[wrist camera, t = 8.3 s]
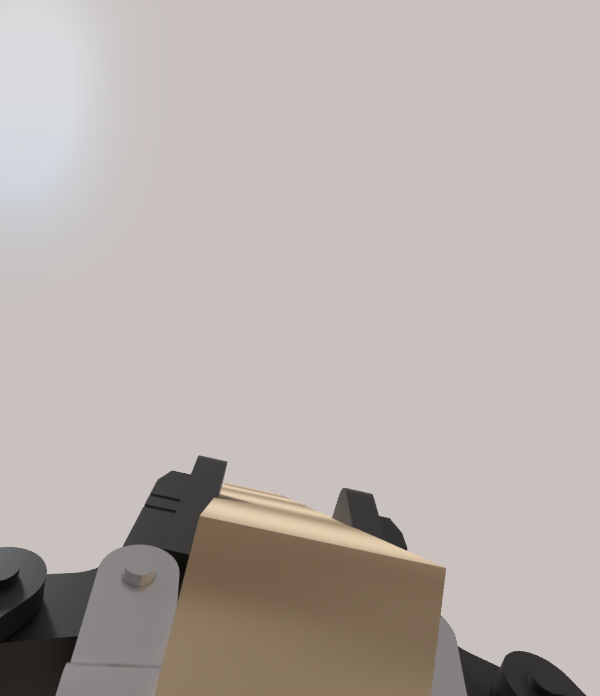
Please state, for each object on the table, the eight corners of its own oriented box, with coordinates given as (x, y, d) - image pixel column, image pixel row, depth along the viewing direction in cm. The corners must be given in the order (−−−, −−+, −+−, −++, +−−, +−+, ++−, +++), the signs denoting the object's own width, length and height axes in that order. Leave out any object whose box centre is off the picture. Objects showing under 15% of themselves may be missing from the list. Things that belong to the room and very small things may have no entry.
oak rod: (409, 876, 5) (446, 567, 6) (119, 830, 5) (199, 515, 6) (266, 551, 26) (279, 494, 27) (211, 540, 26) (225, 482, 27)
